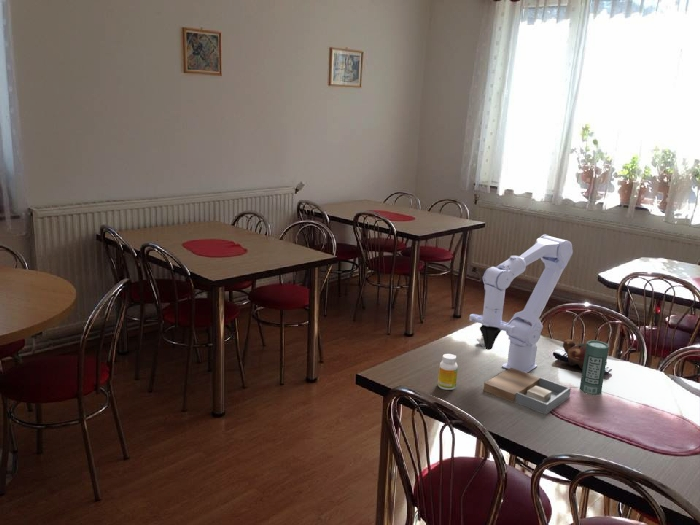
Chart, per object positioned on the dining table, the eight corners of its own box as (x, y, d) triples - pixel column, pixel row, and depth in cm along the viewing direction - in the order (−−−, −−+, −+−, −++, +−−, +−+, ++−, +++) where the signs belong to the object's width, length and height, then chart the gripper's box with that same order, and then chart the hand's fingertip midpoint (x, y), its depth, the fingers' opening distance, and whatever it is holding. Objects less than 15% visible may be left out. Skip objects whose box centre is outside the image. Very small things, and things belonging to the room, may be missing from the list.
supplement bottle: (455, 391, 183) (458, 361, 181) (437, 389, 184) (439, 358, 182) (456, 383, 188) (459, 353, 186) (438, 381, 189) (441, 351, 187)
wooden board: (510, 374, 196) (511, 367, 195) (539, 385, 189) (540, 378, 189) (483, 390, 185) (484, 382, 184) (513, 402, 178) (514, 394, 177)
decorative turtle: (566, 356, 213) (570, 334, 211) (610, 370, 203) (614, 347, 201) (553, 363, 206) (556, 341, 204) (598, 379, 196) (602, 355, 194)
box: (539, 386, 189) (540, 377, 188) (569, 397, 183) (570, 387, 182) (514, 402, 178) (515, 392, 178) (545, 414, 172) (547, 404, 171)
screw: (492, 344, 220) (487, 348, 216) (479, 341, 222) (474, 345, 218) (496, 309, 216) (491, 313, 212) (482, 306, 219) (477, 310, 215)
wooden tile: (534, 391, 185) (535, 385, 184) (550, 397, 181) (551, 391, 181) (526, 396, 181) (527, 390, 180) (542, 403, 178) (543, 396, 177)
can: (601, 388, 190) (609, 342, 186) (600, 396, 184) (608, 349, 180) (580, 384, 192) (587, 338, 188) (578, 392, 187) (586, 345, 183)
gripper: (465, 303, 190) (461, 344, 193) (508, 316, 180) (503, 359, 184) (477, 298, 195) (473, 339, 198) (520, 310, 185) (514, 353, 189)
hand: (488, 348), depth 191 cm, fingers closed
